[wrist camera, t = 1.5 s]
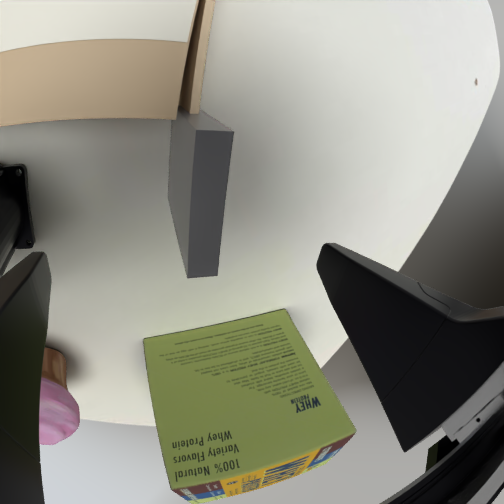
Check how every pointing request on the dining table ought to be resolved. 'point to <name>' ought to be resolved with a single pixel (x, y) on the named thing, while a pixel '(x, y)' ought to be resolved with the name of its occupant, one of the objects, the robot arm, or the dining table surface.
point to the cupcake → (56, 401)
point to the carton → (92, 58)
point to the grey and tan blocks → (198, 161)
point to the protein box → (241, 407)
